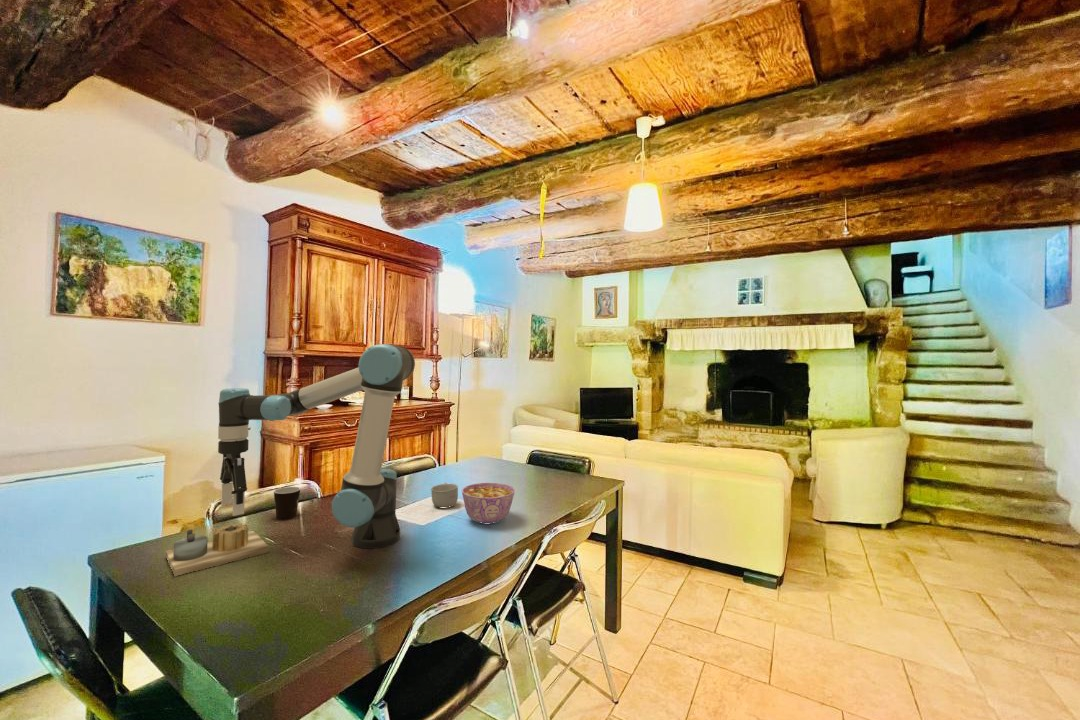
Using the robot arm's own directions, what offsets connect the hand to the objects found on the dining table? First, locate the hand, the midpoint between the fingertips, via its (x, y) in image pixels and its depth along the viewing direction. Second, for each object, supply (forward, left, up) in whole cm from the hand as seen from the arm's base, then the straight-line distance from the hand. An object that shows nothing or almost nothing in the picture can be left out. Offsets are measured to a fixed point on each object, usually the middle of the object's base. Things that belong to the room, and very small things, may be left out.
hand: (232, 509), depth 132 cm
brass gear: (0, 0, -11) cm, 11 cm away
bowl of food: (-33, -74, -13) cm, 82 cm away
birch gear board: (0, +3, -13) cm, 13 cm away
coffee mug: (+22, -23, -13) cm, 34 cm away
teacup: (-7, -73, -13) cm, 74 cm away
